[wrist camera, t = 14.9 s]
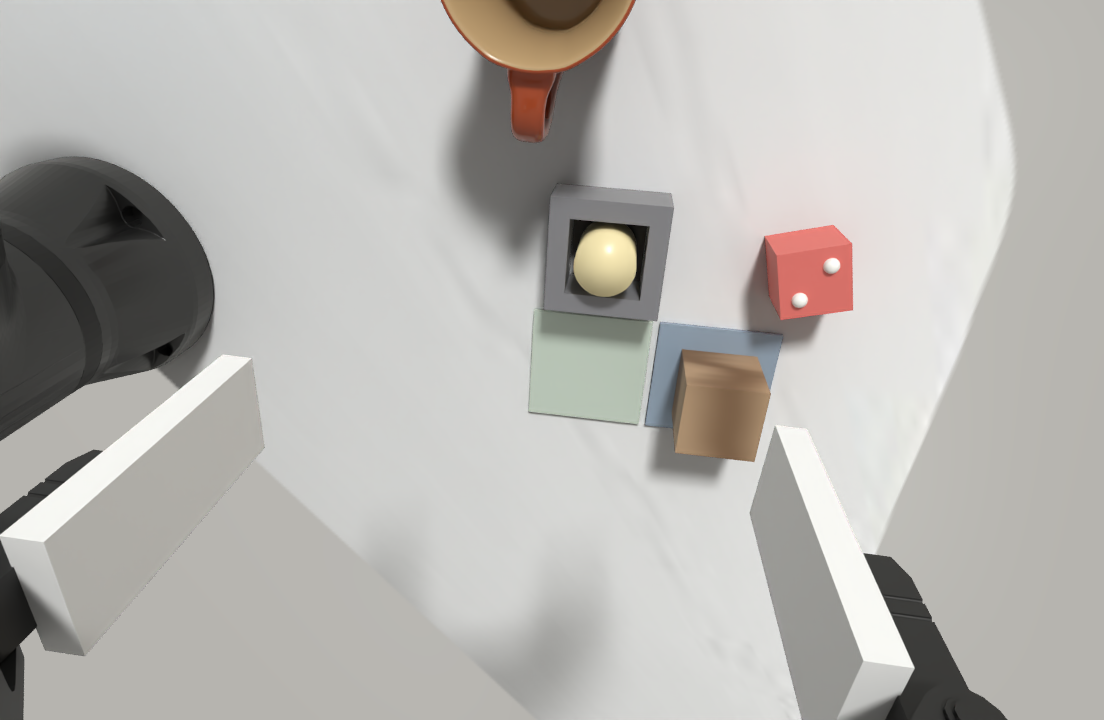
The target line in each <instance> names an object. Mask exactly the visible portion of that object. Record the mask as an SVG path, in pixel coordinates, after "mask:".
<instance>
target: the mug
mask: <svg viewBox="0 0 1104 720" xmlns="http://www.w3.org/2000/svg"><path fill="white" fill-rule="evenodd" d="M635 1H636V0H441V2H442V4H443V6H444V9H445V11H446V13H447V15H448V16H449V18H450V20H451V22H452V23H453V25H454V26H455V27H456V29H457V30H458V32H459V33H460V34H461V35H462V36H463V38H464V39H465V40H466V41H467V42H468V43H469V44H470V45H471V46H472V47H473V48H474V49H475V50H476V51H477V52H478V53H479V54H481V55H482V56H483V57H484V58H485V59H487V60H488V61H490V62H492V63H494V64H496V65H498V66H501V67H504V68H506V69H507V78H508V83H509V87H510V91H511V131H512V134H513V136H514V137H515V138H516V139H517V140H519V141H523V142H529V143H539V142H542V141H543V140H544V139H545V138H546V137H547V135H548V132H549V130H550V127H551V123H552V119H553V113H554V108H555V102H556V96H557V91H558V87H559V84H560V81H561V78H562V76H563V73H564V71H567V70H569V69H572V68H574V67H576V66H578V65H579V64H581V63H583V62H584V61H586V60H588V59H589V58H591V57H592V56H593V55H595V54H596V53H597V52H599V51H600V50H601V49H602V48H603V47H604V46H605V45H606V44H608V43H609V42H610V41H611V39H612V38H613V37H614V36H615V35H616V34H617V32H618V31H619V30H620V28H621V27H622V25H623V24H624V22H625V21H626V19H627V17H628V16H629V14H630V12H631V10H632V8H633V6H634V3H635Z"/></svg>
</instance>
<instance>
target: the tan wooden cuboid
mask: <svg viewBox="0 0 1104 720" xmlns="http://www.w3.org/2000/svg"><path fill="white" fill-rule="evenodd" d="M770 395H771V393H770V390H769V387H768V385H767V382H766V379H765V376H764V374H763V371H762V368H761V365H760V362H759V360H758V357H755V356H745V355H735V354H725V353H715V352H705V351H696V350H686V349H682V352H681V358H680V364H679V370H678V377H677V383H676V389H675V395H674V401H673V407H672V422H673V434H674V446H675V453H681V454H690V455H699V456H707V457H716V458H725V459H734V460H742V461H751V462H754V461H755V457H756V453H757V449H758V445H759V441H760V437H761V432H762V428H763V424H764V420H765V416H766V412H767V408H768V403H769V399H770Z"/></svg>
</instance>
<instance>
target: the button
mask: <svg viewBox="0 0 1104 720" xmlns="http://www.w3.org/2000/svg"><path fill="white" fill-rule="evenodd" d="M636 255H637V245H636V239H635V236H634V234H633V232H632V231H631V229H630V228H629V227H628V226H627V225H626V224H620V223H609V222H598V221H595V222H593V223H592V224H590V225H589V226H588V227H587V228H586V229H585V230H584V232H583V233H582V236H581V238H580V242H579V245H578V249H577V252H576V256H575V259H574V274H575V277H576V280H577V281H578V283H579V284H580V286H581V287H582V288H583V289H584V290H586V291H587V292H589V293H591V294H593V295H596V296H600V297H610V296H614V295H617V294H619V293H621V292H623V291H624V290H626V289H627V288H628V287H629V286H630V284H631V283H632V281H633V279H634V277H635V274H636Z"/></svg>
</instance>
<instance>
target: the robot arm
mask: <svg viewBox="0 0 1104 720" xmlns="http://www.w3.org/2000/svg"><path fill="white" fill-rule="evenodd" d="M212 306H213V284H212V277H211V272H210V268H209V265H208V261H207V259H206V256H205V253H204V251H203V249H202V247H201V244H200V243H199V241H198V239H197V237H196V235H195V234H194V232H193V230H192V229H191V227H190V226H189V224H188V223H187V221H186V220H185V219H184V217H183V216H182V215H181V214H180V212H179V211H178V210H177V209H176V208H175V207H174V206H173V205H172V204H171V203H170V201H169V200H167V199H166V198H165V197H164V196H163V195H162V194H161V193H160V192H159V191H157V190H156V189H155V188H154V187H152V186H151V185H150V184H148V183H147V182H146V181H144V180H143V179H141V178H140V177H138V176H136V175H134V174H133V173H131V172H129V171H127V170H125V169H123V168H121V167H118V166H116V165H113V164H111V163H108V162H105V161H101V160H97V159H92V158H86V157H62V158H56V159H52V160H47V161H43V162H38V163H34V164H30V165H27V166H24V167H21V168H19V169H17V170H15V171H13V172H11V173H9V174H7V175H6V176H5V177H3V178H2V179H1V180H0V441H1V440H2V439H4V438H6V437H7V436H9V435H10V434H12V433H13V432H14V431H16V430H17V429H19V428H21V427H22V426H23V425H25V424H26V423H28V422H30V421H31V420H33V419H34V418H35V417H37V416H38V415H40V414H41V413H43V412H44V411H46V410H47V409H49V408H50V407H52V406H53V405H55V404H56V403H58V402H59V401H61V400H62V399H64V398H65V397H67V396H68V395H70V394H71V393H73V392H75V391H76V390H78V389H79V388H81V387H83V386H84V385H87V384H92V383H96V382H100V381H105V380H109V379H114V378H118V377H123V376H127V375H131V374H136V373H140V372H144V371H149V370H152V369H155V368H157V367H159V366H162V365H164V364H166V363H168V362H169V361H171V360H172V359H174V358H175V357H177V356H178V355H179V354H181V353H182V352H184V351H185V350H187V349H188V348H189V347H191V346H192V345H193V344H194V343H195V342H196V341H197V340H198V339H199V337H200V336H201V335H202V333H203V332H204V330H205V328H206V326H207V324H208V321H209V319H210V315H211V311H212ZM264 448H265V447H264V440H263V433H262V426H261V419H260V412H259V405H258V398H257V391H256V384H255V377H254V370H253V363H252V358H246V357H238V356H231V355H221V356H220V357H219V358H218V359H216V360H215V361H214V362H213V363H211V364H210V365H209V366H208V367H207V368H205V369H204V370H203V371H202V372H200V373H199V374H198V375H197V376H195V377H194V378H193V379H192V380H190V381H189V382H188V383H187V384H186V385H184V386H183V387H182V388H181V389H179V390H178V391H177V392H176V393H174V394H173V395H172V396H171V397H170V398H168V399H167V400H166V401H165V402H163V403H162V404H161V405H160V406H158V407H157V408H156V409H155V410H154V411H152V412H151V413H150V414H149V415H147V416H146V417H145V418H144V419H142V420H141V421H140V422H139V423H137V424H136V425H135V426H134V427H132V428H131V429H130V430H129V431H128V432H126V433H125V434H124V435H123V436H121V437H120V438H119V439H118V440H116V441H115V442H114V443H113V444H112V445H111V446H109V447H108V448H107V449H105V450H104V451H99V450H92V451H90V452H88V453H86V454H84V455H81V456H80V457H77V458H75V459H73V460H71V461H69V462H67V463H65V464H64V465H63V466H61V467H60V468H59V469H57V470H56V471H55V472H54V473H52V474H51V475H50V476H48V477H47V478H46V479H45V482H44V483H43V482H41V483H39V484H38V485H37V486H35V487H34V488H33V489H32V490H30V491H29V492H28V495H27V496H23V497H21V498H20V499H19V500H18V501H16V502H15V503H14V504H12V505H11V506H10V507H9V508H7V509H6V510H5V511H3V512H2V513H1V514H0V720H23V707H24V706H23V705H24V702H23V701H24V656H23V653H22V650H21V648H20V645H19V644H20V643H21V642H22V641H23V640H24V639H25V638H26V637H27V636H28V635H29V634H30V633H31V632H32V631H33V630H34V629H35V628H36V629H37V632H38V634H39V637H40V639H41V642H42V644H43V647H44V649H45V650H47V651H54V652H60V653H66V654H73V655H80V656H86V654H87V653H88V652H89V651H90V650H91V649H92V648H93V646H94V645H95V644H96V643H97V642H98V641H99V640H100V638H101V637H102V636H103V635H104V634H105V633H106V631H107V630H108V629H109V628H110V627H111V626H112V624H113V623H114V622H115V621H116V619H118V617H119V616H120V615H121V614H122V613H123V612H124V610H125V609H126V608H127V607H128V606H129V605H130V603H131V602H132V601H133V600H134V599H135V598H136V597H137V595H138V594H139V593H140V592H141V591H142V589H143V588H144V587H145V586H146V585H147V584H148V582H149V581H150V580H151V579H152V578H153V577H154V576H155V574H156V573H157V572H158V571H159V570H160V569H161V568H162V566H163V565H164V564H165V563H166V562H167V561H168V559H169V558H170V557H171V556H172V555H173V554H174V552H175V551H176V550H177V549H178V548H179V547H180V545H181V544H182V543H183V542H184V541H185V540H186V538H187V537H188V536H189V535H190V534H191V533H192V531H193V530H194V529H195V528H196V527H197V525H198V524H199V523H200V522H201V521H202V520H203V519H204V518H205V516H206V515H207V514H208V513H209V512H210V510H211V509H212V508H213V507H214V506H215V505H216V504H217V502H218V501H219V500H220V499H221V498H222V497H223V495H224V494H225V493H226V492H227V491H228V490H229V488H230V487H231V486H232V485H233V484H234V483H235V481H236V480H237V479H238V478H239V477H240V476H241V475H242V473H243V472H244V471H245V470H246V469H247V468H248V466H249V465H250V464H251V463H252V462H253V461H254V459H255V458H256V457H257V456H258V455H259V454H260V453H261V451H262V450H263V449H264ZM750 517H751V520H752V524H753V528H754V532H755V536H756V540H757V544H758V548H759V552H760V556H761V560H762V564H763V568H764V572H765V576H766V580H767V584H768V588H769V592H770V596H771V600H772V603H773V607H774V611H775V615H776V619H777V623H778V627H779V631H780V635H781V639H782V643H783V647H784V651H785V655H786V659H787V663H788V667H789V671H790V675H791V679H792V683H793V687H794V690H795V694H796V698H797V702H798V706H799V710H800V714H801V718H802V720H1007V719H1006V718H1005V716H1004V715H1003V714H1002V713H1001V711H1000V710H998V709H997V708H996V707H995V706H993V705H992V704H991V703H989V702H988V701H987V700H986V699H985V698H983V697H981V696H979V695H978V694H975V693H973V692H971V691H970V690H969V689H968V687H967V685H966V683H965V681H964V679H963V677H962V675H961V673H960V671H959V669H958V667H957V665H956V663H955V662H954V660H953V658H952V656H951V654H950V652H949V650H948V648H947V646H946V644H945V642H944V640H943V638H942V636H941V634H940V632H939V631H938V629H937V627H936V625H935V623H934V622H932V617H931V615H930V613H929V611H928V609H927V608H926V606H925V604H923V603H922V598H921V596H920V594H919V592H918V590H917V588H916V586H915V584H914V582H913V580H912V578H911V577H910V576H909V575H908V574H907V573H906V572H905V571H904V570H903V569H902V568H901V567H900V566H899V565H898V564H897V563H896V562H895V561H894V560H893V559H892V558H891V557H887V556H880V555H872V554H865V553H863V552H862V550H861V548H860V545H859V543H858V541H857V539H856V536H855V534H854V532H853V530H852V528H851V525H850V523H849V521H848V519H847V516H846V514H845V512H844V510H843V507H842V505H841V503H840V501H839V499H838V496H837V494H836V492H835V490H834V487H833V485H832V483H831V481H830V479H829V476H828V474H827V472H826V470H825V467H824V465H823V463H822V461H821V459H820V456H819V454H818V452H817V450H816V447H815V445H814V443H813V441H812V438H811V436H810V434H809V432H808V430H807V429H803V428H796V427H788V426H780V425H775V428H774V431H773V435H772V438H771V441H770V445H769V448H768V452H767V455H766V459H765V462H764V465H763V469H762V472H761V476H760V479H759V482H758V486H757V489H756V493H755V496H754V500H753V503H752V506H751V510H750Z"/></svg>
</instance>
